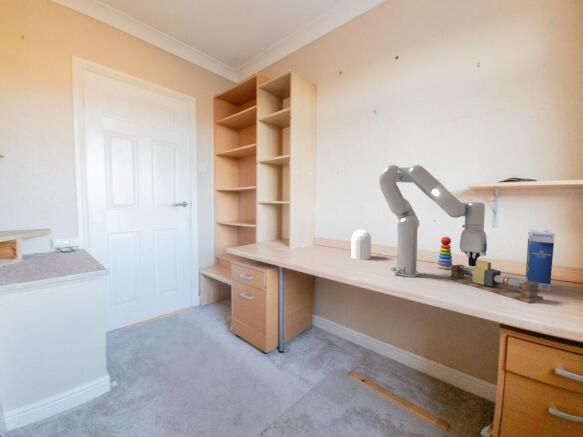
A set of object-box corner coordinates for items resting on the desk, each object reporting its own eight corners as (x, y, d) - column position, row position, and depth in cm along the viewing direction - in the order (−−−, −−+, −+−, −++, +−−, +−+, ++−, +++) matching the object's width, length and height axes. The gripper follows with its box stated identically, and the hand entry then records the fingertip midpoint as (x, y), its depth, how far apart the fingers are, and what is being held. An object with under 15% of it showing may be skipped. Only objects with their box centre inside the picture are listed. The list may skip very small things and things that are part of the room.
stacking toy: (455, 270, 143) (457, 237, 141) (441, 270, 143) (443, 237, 142) (447, 266, 151) (448, 235, 149) (434, 266, 151) (435, 235, 149)
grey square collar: (484, 284, 112) (484, 270, 112) (492, 282, 115) (493, 269, 114) (491, 286, 109) (492, 272, 109) (500, 284, 112) (500, 271, 111)
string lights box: (524, 281, 123) (528, 229, 121) (546, 284, 118) (550, 230, 116) (527, 288, 113) (531, 231, 111) (551, 292, 108) (555, 233, 106)
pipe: (454, 272, 126) (454, 265, 126) (459, 272, 128) (459, 264, 127) (528, 292, 98) (529, 283, 98) (534, 291, 100) (534, 282, 100)
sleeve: (472, 281, 117) (473, 260, 116) (481, 279, 119) (482, 259, 119) (483, 284, 112) (484, 263, 112) (492, 283, 115) (494, 262, 114)
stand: (447, 278, 127) (447, 265, 126) (460, 276, 130) (460, 263, 130) (528, 303, 96) (529, 285, 96) (542, 299, 100) (543, 282, 99)
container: (374, 257, 175) (374, 229, 174) (365, 260, 166) (365, 230, 164) (356, 254, 185) (357, 227, 183) (347, 257, 175) (347, 229, 174)
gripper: (453, 227, 124) (452, 263, 125) (486, 230, 110) (484, 270, 111) (463, 226, 127) (461, 261, 128) (496, 229, 113) (494, 268, 114)
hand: (472, 265), depth 120 cm, fingers closed
